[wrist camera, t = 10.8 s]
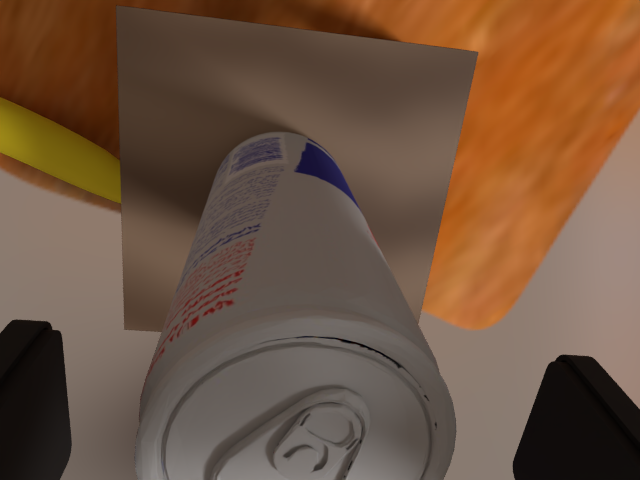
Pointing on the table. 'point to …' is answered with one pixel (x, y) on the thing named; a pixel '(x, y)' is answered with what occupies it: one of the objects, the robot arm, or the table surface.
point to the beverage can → (290, 339)
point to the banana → (58, 151)
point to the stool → (278, 116)
